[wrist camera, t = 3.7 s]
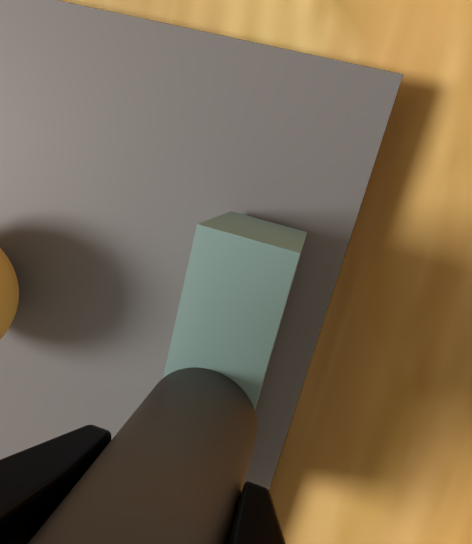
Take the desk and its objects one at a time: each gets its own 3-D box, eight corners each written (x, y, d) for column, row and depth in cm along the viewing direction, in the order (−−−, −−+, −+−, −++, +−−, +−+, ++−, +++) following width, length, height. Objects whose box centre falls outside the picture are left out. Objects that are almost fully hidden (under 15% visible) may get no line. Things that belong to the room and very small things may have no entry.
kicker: (315, 234, 11) (264, 495, 2) (238, 490, 13) (50, 1162, 4) (223, 209, 11) (-165, 337, 2) (163, 463, 13) (-156, 1030, 4)
